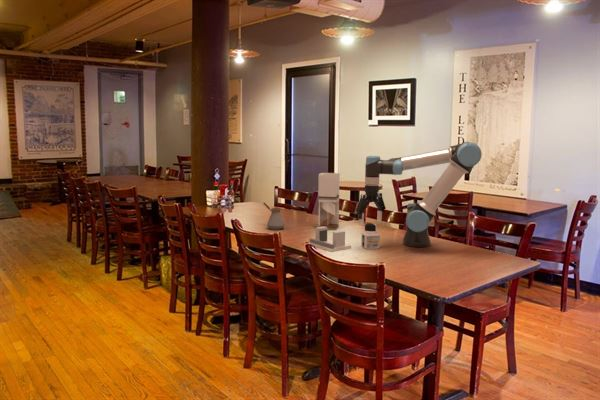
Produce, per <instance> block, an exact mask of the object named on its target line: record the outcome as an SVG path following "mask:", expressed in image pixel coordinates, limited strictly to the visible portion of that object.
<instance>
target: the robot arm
mask: <svg viewBox="0 0 600 400" xmlns="http://www.w3.org/2000/svg"><path fill="white" fill-rule="evenodd" d="M482 154H483V153H482V149H481V148H480V146H479V145H478V144H476V143H474V142H470V141H464V142H462V143H458V144H455V145H451V146H449V147H448V148H444V149H443V148H442V149H437V150H434V151H427V152H423V153H417V154H412V155H411V154H410V155H407V156H406V155H404V156H401V157H395V158H394V157H393V158H389V159H381V156H379V155H367V156H366V158H365V166H364V167H365V172H364V173H365V174H364V176H365V177H364V184H365V185H364V193H365V194H360V199H359V201H358V204H357V207H356V208H355V213H358V225H359V226H362V227H363V226H365V224H364V222H365V220H364V219H365V213H364V212H365V209H367V206H368V205H369V204H370V203H374V205H375V206H376V208H377V214H376V215H377V217H376V223H379V224H381V223H382V219H383V212H385V210H386V209H387V208H386V205H385V202H384V197H383V193H382V192H380V191H379V190H380V175H391V176H392V175H393V176H398V175H400V176H401V175H403V171H408V170H414V169H420V168H426V167H432V166H438V165H445V164H449V165H447V168H445V170H444V171H443V173H442V174H441V176H439V178H438V179H437V180H436V181H435V183H434V184H433V186H432V187H431V188H430V190H429V191H428V192H427V194H426V195H425V196H424V197H423V198H422V200H419V201H417V202H416V203H415V202H414V203H411V202H410V203H408V204H407V207H406V218H405V223H406V230H405V233H404V236H403V238H402V244H403V246H407V247H413V248H426V247H427V248H428V247H431V243H432V242H431V239H430V235H429V230H428V229H429V225H430V223H431V221H433V219H434V218H435V217H436V216H437V215H436V210H437V209H438V208H439V207H440V205H441V204H442V203H443V202H444V200H445V199H446V198H447V197H448V195H449V194H450V193H451V191H452V190H453V189H454V187H455V186H456V185H457V183H458V182H459V181H460V180H461V178H462V177H463V176H464V175H465V174H469V173H470V172H471V171H472V169H473V168H474V167H475V166H477V165H478V164H479V162H480V161H481V159H482Z"/></svg>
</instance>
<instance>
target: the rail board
mask: <svg viewBox="0 0 600 400" xmlns="http://www.w3.org/2000/svg"><path fill="white" fill-rule="evenodd" d="M309 243H310V244H312V245H314V246H315V247H314V246H313V247H314V248H317V249H319V250H320V249H322V250H324V251H328V252H330V253H333V252H338V251H343V250H348V249H349V250H350V249H352V245H351V244H347V243H346V231H345V230H335V231H333V232H332V239H329V238H328V230H327V227H325V226H323V227H318V226H317V227H315V238H313V237H312V238H309V241H308V244H309Z"/></svg>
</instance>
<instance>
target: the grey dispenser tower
mask: <svg viewBox="0 0 600 400" xmlns="http://www.w3.org/2000/svg"><path fill="white" fill-rule="evenodd" d="M317 191H318V193H317V194H318V196H317V197H318V199H317V200H318V218H317V219H318V224H317V227H323V226H325V227H327V231H338V229H339V228H340V227H339V226H340V224H339V221H340V220H339V219H340V173H339V172H337V173H336V172H321V173H319V174H318V190H317Z"/></svg>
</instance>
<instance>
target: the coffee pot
mask: <svg viewBox="0 0 600 400" xmlns="http://www.w3.org/2000/svg"><path fill="white" fill-rule="evenodd" d="M262 205H263V206H265V207H266V208H267V210H268V211H270V212H271V213H270V216H269V219H268V221H267V223H266V226H267V227H268V228H269V230H271V231H279V230H280V231H281V230H283V228H284V227H285V225H286V224H285V221H284V219H283V216H282V214H281V210H282V209H281V208H279V207H278V208H277V207H275V208H271V207H269V205H267V203H266V202H263V203H262Z"/></svg>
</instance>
